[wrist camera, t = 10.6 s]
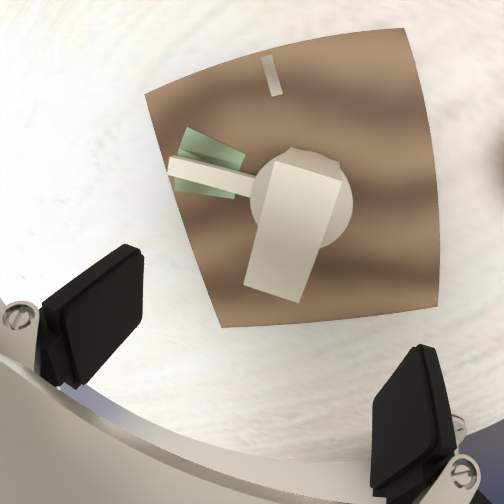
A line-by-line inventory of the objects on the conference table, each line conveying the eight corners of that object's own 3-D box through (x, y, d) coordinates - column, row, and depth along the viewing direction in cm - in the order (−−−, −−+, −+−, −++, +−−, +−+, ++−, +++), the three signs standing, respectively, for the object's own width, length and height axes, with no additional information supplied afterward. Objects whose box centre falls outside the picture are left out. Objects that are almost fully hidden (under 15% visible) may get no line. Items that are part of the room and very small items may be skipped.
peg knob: (365, 168, 19) (380, 195, 13) (333, 257, 23) (330, 313, 16) (181, 119, 21) (124, 127, 15) (168, 205, 24) (116, 239, 18)
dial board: (434, 298, 24) (438, 307, 22) (225, 320, 30) (220, 329, 29) (400, 31, 16) (404, 27, 14) (152, 94, 22) (143, 94, 21)
